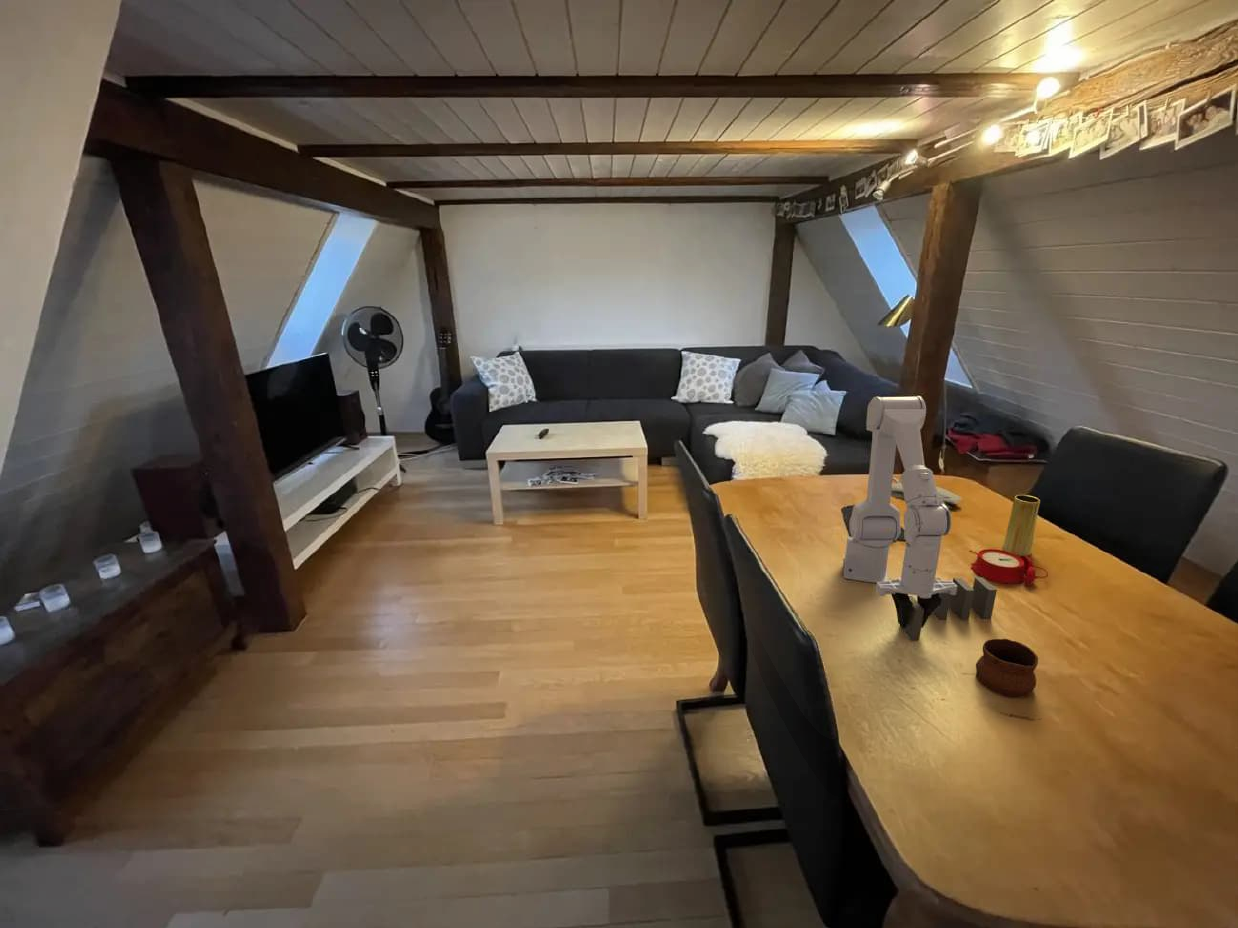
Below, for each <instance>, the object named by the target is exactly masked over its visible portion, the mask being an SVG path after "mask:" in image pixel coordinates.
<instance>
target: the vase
mask: <svg viewBox="0 0 1238 928" xmlns="http://www.w3.org/2000/svg"><path fill="white" fill-rule="evenodd" d="M1040 504H1041V499H1039V498H1038V497H1036V496H1033V495H1029V494H1028V495H1027V494H1017V495H1015V496H1014V499H1013V503H1012V508H1011V513H1010V516H1009V520H1008V526H1007V529H1006V534H1005V538H1004V541H1003V544H1002V546H1001V547H1002V548H1001V549H1002V551H1006V552H1009V553H1012V554H1015V555H1017V556H1018V557H1021V556H1027V557H1029V556H1030V555H1031V553H1032V547H1033V544H1034V542H1033V541H1034V537H1035V531H1036V523H1037V519H1038V513H1039V508H1040Z"/></svg>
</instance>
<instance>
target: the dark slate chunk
mask: <svg viewBox="0 0 1238 928" xmlns="http://www.w3.org/2000/svg"><path fill="white" fill-rule="evenodd" d="M855 505H856V504H851V505H846V506H843V507H841V508H840V512H841V515H842V519H843V522H844V525H845V527H846V531H847V534H848V537H852V536H851V533H850V527H849V524H850V518H851V516H852V512H853V507H854V506H855ZM904 532H905V528H903V527H902V526H901V533H900V536H899V537H898V539H897V540H893V542H902V541H906V540H905V538H904Z"/></svg>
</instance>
